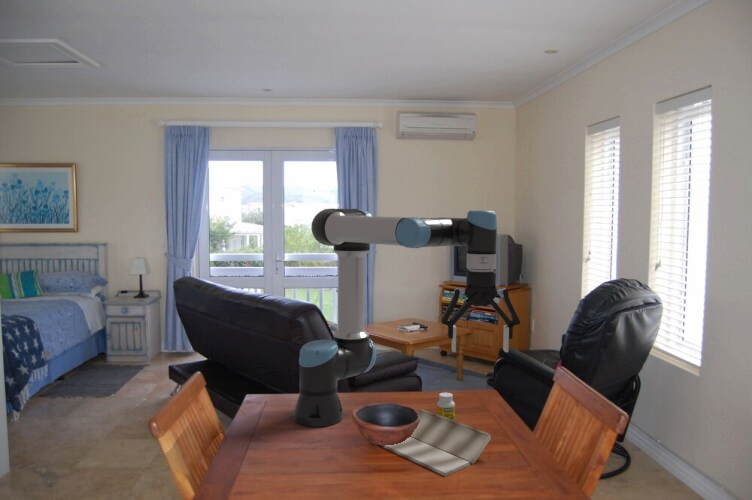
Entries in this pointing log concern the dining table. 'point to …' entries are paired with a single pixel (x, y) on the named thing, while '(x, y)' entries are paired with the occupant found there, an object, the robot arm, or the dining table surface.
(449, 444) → the plank
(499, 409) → the dining table surface
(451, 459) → the laid board
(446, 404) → the supplement bottle
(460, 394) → the dining table surface
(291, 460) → the dining table surface
